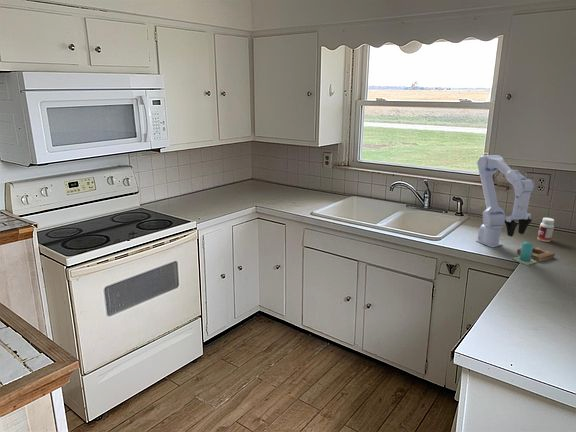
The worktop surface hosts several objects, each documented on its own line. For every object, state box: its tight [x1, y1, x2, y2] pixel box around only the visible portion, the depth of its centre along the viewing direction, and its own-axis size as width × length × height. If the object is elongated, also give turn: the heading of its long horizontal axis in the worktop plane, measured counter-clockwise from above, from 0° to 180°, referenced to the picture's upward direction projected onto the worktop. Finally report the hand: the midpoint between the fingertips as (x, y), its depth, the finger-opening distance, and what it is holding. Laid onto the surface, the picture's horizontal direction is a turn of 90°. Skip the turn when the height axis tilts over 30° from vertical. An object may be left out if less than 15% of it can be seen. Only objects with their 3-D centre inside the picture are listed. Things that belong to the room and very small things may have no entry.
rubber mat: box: [512, 255, 538, 266], centre depth 198 cm, size 7×7×1 cm
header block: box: [516, 245, 556, 263], centre depth 204 cm, size 11×11×2 cm
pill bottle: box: [537, 217, 555, 243], centre depth 222 cm, size 6×6×11 cm
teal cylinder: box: [519, 240, 535, 262], centre depth 197 cm, size 4×4×8 cm
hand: (515, 234), depth 200 cm, fingers open, 7 cm apart
